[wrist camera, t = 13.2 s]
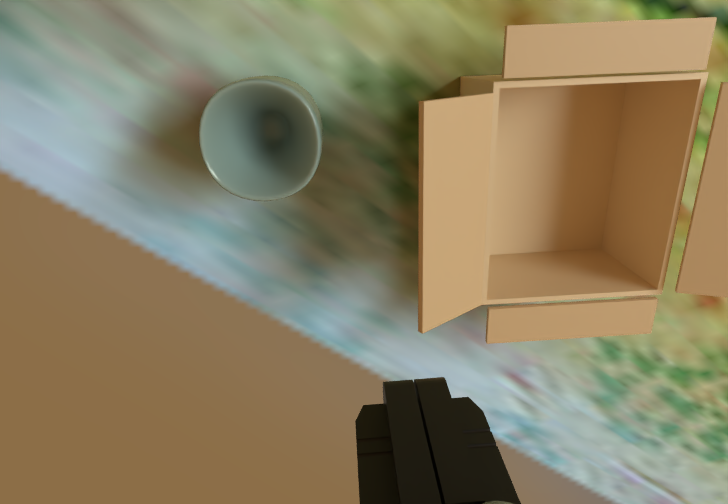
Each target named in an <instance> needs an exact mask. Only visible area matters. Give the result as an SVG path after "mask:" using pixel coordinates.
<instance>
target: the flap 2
mask: <svg viewBox="0 0 728 504" xmlns="http://www.w3.org/2000/svg"><path fill="white" fill-rule="evenodd" d="M675 291H676V292H677V293H687V294H698V295H708V296H719V297H728V82H721V85H720V90H719V94H718V99H717V103H716V108H715V113H714V117H713V122H712V126H711V131H710V135H709V140H708V144H707V149H706V153H705V158H704V162H703V167H702V171H701V176H700V180H699V185H698V189H697V194H696V198H695V203H694V207H693V212H692V216H691V221H690V225H689V230H688V234H687V239H686V243H685V248H684V252H683V257H682V261H681V266H680V270H679V275H678V280H677V284H676V289H675Z"/></svg>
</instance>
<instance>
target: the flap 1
mask: <svg viewBox="0 0 728 504" xmlns="http://www.w3.org/2000/svg"><path fill="white" fill-rule="evenodd" d="M493 96H494V93H484V94H476V95H467V96H459V97H451V98H442V99H434V100H425V101H419V260H418V331H419V332H421V333H422V334H423V333H425V332H427V331H429V330H431V329H433V328H435V327H437V326H439V325H441V324H443V323H445V322H447V321H449V320H451V319H453V318H456V317H458V316H460V315H462V314H464V313H466V312H468V311H470V310H472V309H474V308H476V307H478V306H480V305H482V289H483V271H484V253H485V236H486V218H487V201H488V183H489V166H490V148H491V131H492V113H493Z"/></svg>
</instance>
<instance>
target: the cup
mask: <svg viewBox="0 0 728 504" xmlns="http://www.w3.org/2000/svg"><path fill="white" fill-rule="evenodd" d="M199 144H200V149H201V154H202V158H203V160H204V162H205V165H206V167H207V169H208V171H209V172H210V174H211V176H212V177H213V179H214V180H215V181H216V182H217V183H218V184H219V185H220V186H221V187H222V188H224V189H225V190H227V191H228V192H230V193H231V194H234V195H236V196H238V197H241V198H244V199H249V200H254V201H272V200H279V199H282V198H285V197H289V196H291V195H293V194H295V193H297V192H299V191H300V190H301V189H302V188H304V187H305V186H306V185H307V184H308V183H309V181H310V180H311V179H312V177H313V176H314V174H315V172H316V170H317V167H318V165H319V162H320V158H321V153H322V148H323V124H322V118H321V115H320V111H319V108H318V106H317V104H316V102H315V100H314V99H313V97H312V96H311V95H310V94H309V92H308V91H307V90H306V89H304V88H303V87H302V86H300V85H299V84H298V83H296V82H293V81H291V80H289V79H286V78H282V77H278V76H255V77H248V78H245V79H241V80H238V81H235V82H232V83H230V84H228V85H226V86H224V87H223V88H221V89H219V90H218V91H217V92H216V93H215V94H214V95H213V96H212V97H211V98H210V99H209V101H208V103H207V104H206V106H205V107H204V110H203V113H202V116H201V119H200V126H199Z"/></svg>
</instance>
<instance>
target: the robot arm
mask: <svg viewBox="0 0 728 504" xmlns="http://www.w3.org/2000/svg"><path fill="white" fill-rule="evenodd" d="M383 400H384V404H373V405H363V407H362V409H361V411H360V413H359V415H358V417H357V419H356V439H357V458H358V478H359V497H360V504H521V503H520V501H519V499H518V496H517V494H516V491H515V489H514V486H513V484H512V481H511V479H510V476H509V474H508V471H507V469H506V467H505V464H504V462H503V459H502V457H501V454H500V452H499V449H498V447H497V446H496V442H495V440H494V437H493V435H492V432H490V427H489V425H488V422H487V420H486V417H485V415H484V413H483V411H482V410H481V409H480V408H479V407H478V406H477V405H476V404H475V403H474V402H473V401H472V400H471V399H470V398H469V397H462V398H451V395H450V392H449V389H448V386H447V383H446V380H445V378H444V377H440V378H427V379H414V383H413V380H402V381H389V382H383Z"/></svg>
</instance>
